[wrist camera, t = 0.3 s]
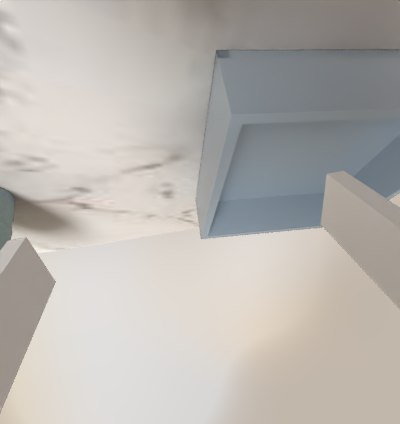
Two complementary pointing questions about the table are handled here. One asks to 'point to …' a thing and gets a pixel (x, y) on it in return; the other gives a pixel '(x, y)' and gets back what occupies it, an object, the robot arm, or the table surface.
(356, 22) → the table surface
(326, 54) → the bin
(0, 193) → the grey-blue cup
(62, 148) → the table surface
